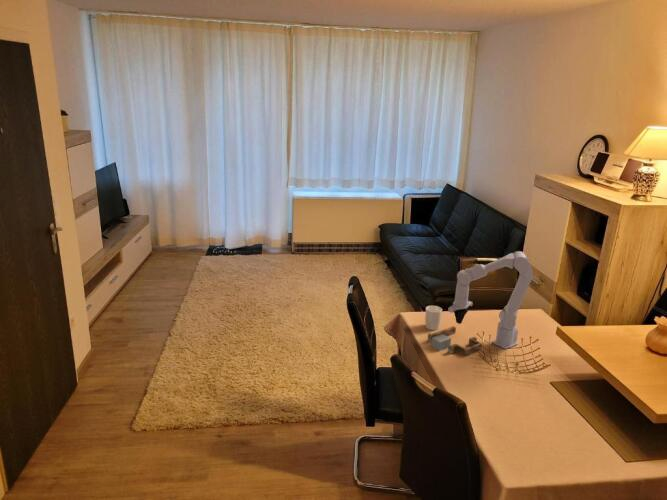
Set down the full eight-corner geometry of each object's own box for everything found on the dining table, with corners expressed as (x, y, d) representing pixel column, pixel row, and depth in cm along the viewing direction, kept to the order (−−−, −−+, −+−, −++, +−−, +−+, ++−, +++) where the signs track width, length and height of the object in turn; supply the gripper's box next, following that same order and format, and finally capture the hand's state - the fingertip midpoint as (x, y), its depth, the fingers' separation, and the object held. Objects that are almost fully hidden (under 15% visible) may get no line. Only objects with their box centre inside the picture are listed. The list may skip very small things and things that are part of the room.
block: (441, 342, 230) (442, 334, 229) (450, 347, 226) (451, 338, 225) (431, 346, 226) (432, 337, 225) (439, 351, 222) (440, 342, 221)
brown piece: (452, 331, 241) (453, 324, 240) (484, 348, 226) (485, 341, 225) (427, 340, 231) (428, 333, 230) (459, 358, 216) (460, 351, 215)
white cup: (420, 325, 247) (422, 306, 244) (433, 322, 250) (435, 304, 247) (430, 332, 240) (432, 313, 237) (443, 329, 243) (445, 310, 240)
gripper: (465, 290, 235) (462, 316, 239) (444, 296, 227) (441, 323, 231) (477, 294, 230) (474, 321, 234) (456, 301, 222) (453, 329, 226)
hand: (458, 322), depth 232 cm, fingers closed
